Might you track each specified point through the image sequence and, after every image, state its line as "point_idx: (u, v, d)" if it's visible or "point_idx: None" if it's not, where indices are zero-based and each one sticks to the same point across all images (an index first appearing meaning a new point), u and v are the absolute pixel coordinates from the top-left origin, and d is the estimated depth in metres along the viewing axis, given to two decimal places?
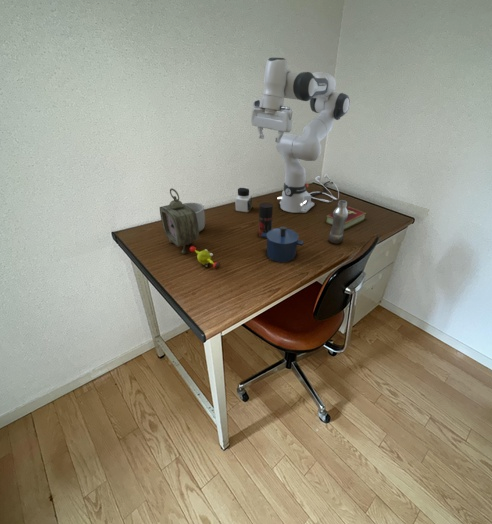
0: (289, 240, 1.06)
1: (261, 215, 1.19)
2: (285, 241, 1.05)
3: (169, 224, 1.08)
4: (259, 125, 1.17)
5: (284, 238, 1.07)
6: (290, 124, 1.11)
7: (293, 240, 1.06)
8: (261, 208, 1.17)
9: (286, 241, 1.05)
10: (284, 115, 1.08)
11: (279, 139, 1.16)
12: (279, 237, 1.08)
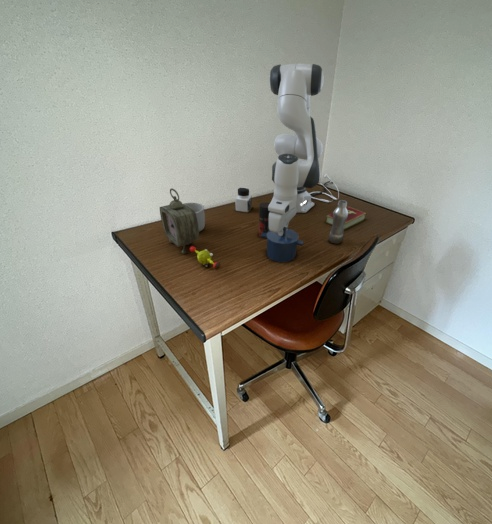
0: (289, 240, 1.06)
1: (261, 215, 1.19)
2: (285, 241, 1.05)
3: (169, 224, 1.08)
4: (282, 227, 1.01)
5: (284, 238, 1.07)
6: None
7: (293, 240, 1.06)
8: (261, 208, 1.17)
9: (286, 241, 1.05)
10: (296, 202, 1.08)
11: None
12: (279, 237, 1.08)
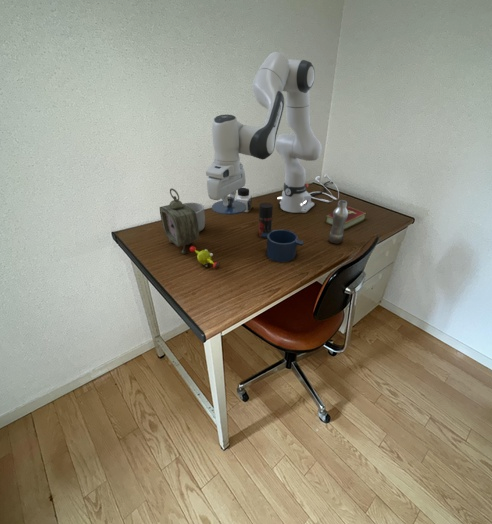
0: (234, 210, 1.00)
1: (261, 215, 1.19)
2: (230, 211, 1.00)
3: (169, 224, 1.08)
4: (225, 195, 0.96)
5: (230, 209, 1.01)
6: None
7: (239, 210, 1.01)
8: (261, 208, 1.17)
9: (231, 211, 1.00)
10: (243, 171, 1.03)
11: None
12: (225, 208, 1.02)
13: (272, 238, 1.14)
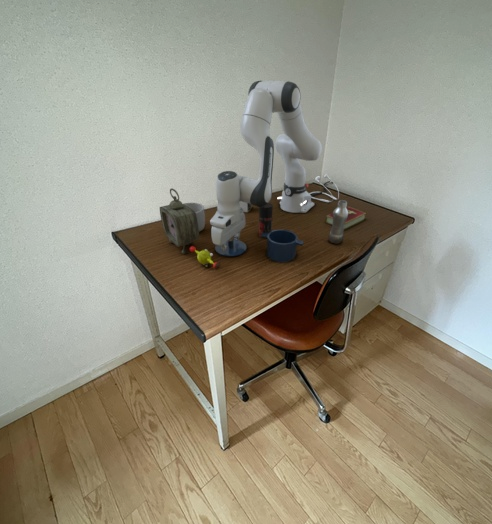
0: (235, 252, 1.11)
1: (261, 215, 1.19)
2: (231, 253, 1.10)
3: (169, 224, 1.08)
4: (227, 240, 1.06)
5: (231, 250, 1.12)
6: None
7: (240, 252, 1.11)
8: (261, 208, 1.17)
9: (232, 253, 1.10)
10: (243, 215, 1.13)
11: None
12: (227, 249, 1.12)
13: (272, 238, 1.14)
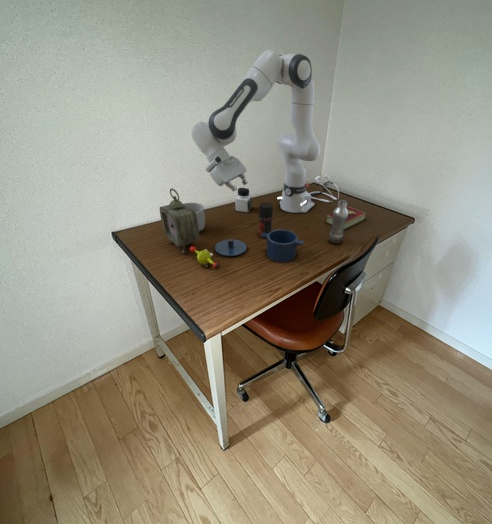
0: (235, 252, 1.11)
1: (261, 215, 1.19)
2: (231, 253, 1.10)
3: (169, 224, 1.08)
4: (229, 177, 1.12)
5: (231, 250, 1.12)
6: None
7: (240, 252, 1.11)
8: (261, 208, 1.17)
9: (232, 253, 1.10)
10: (237, 159, 1.21)
11: None
12: (227, 249, 1.12)
13: (272, 238, 1.14)
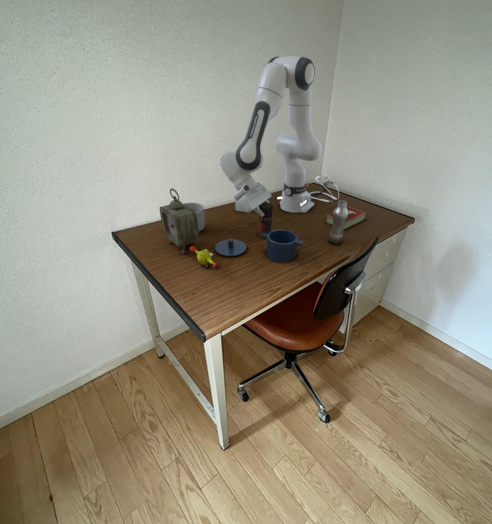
0: (235, 252, 1.11)
1: None
2: (231, 253, 1.10)
3: (169, 224, 1.08)
4: (257, 205, 1.15)
5: (231, 250, 1.12)
6: None
7: (240, 252, 1.11)
8: (261, 208, 1.17)
9: (232, 253, 1.10)
10: (263, 186, 1.24)
11: None
12: (227, 249, 1.12)
13: (272, 238, 1.14)
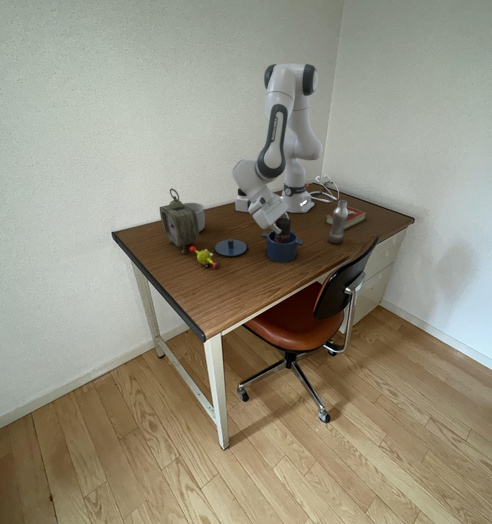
0: (235, 252, 1.11)
1: None
2: (231, 253, 1.10)
3: (169, 224, 1.08)
4: (274, 219, 1.01)
5: (231, 250, 1.12)
6: None
7: (240, 252, 1.11)
8: (278, 224, 1.04)
9: (232, 253, 1.10)
10: (279, 197, 1.10)
11: None
12: (227, 249, 1.12)
13: (272, 238, 1.14)
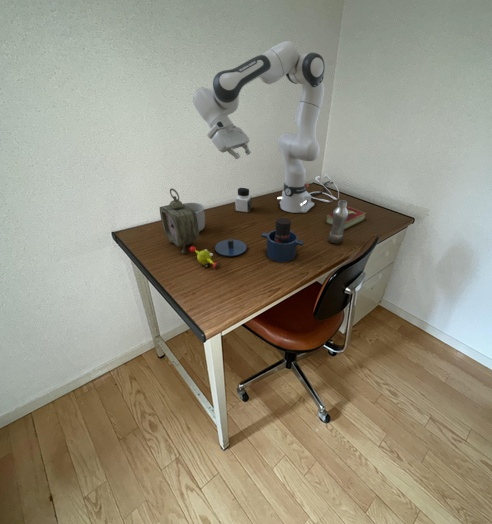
0: (235, 252, 1.11)
1: (278, 232, 1.06)
2: (231, 253, 1.10)
3: (169, 224, 1.08)
4: (232, 144, 1.09)
5: (231, 250, 1.12)
6: None
7: (240, 252, 1.11)
8: (278, 224, 1.04)
9: (232, 253, 1.10)
10: (240, 129, 1.18)
11: None
12: (227, 249, 1.12)
13: (272, 238, 1.14)
